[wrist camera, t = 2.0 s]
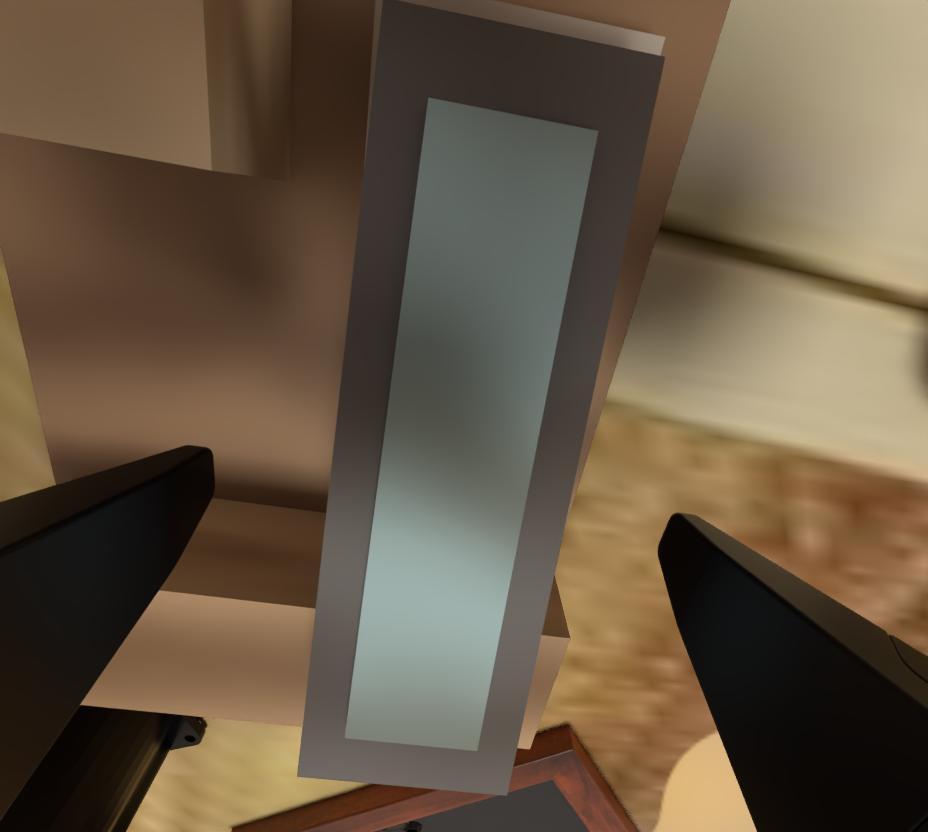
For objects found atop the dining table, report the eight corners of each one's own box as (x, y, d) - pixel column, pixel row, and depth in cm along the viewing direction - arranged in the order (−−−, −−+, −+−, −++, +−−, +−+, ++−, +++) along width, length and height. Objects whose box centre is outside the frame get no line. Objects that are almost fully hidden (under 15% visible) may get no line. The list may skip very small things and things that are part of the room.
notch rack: (522, 630, 20) (541, 760, 15) (101, 581, 18) (-17, 705, 14) (714, -1, 11) (892, -145, 6) (-52, -171, 10) (-499, -496, 5)
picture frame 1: (497, 725, 13) (508, 808, 11) (319, 707, 13) (293, 789, 11) (622, 107, 10) (673, 46, 8) (395, 62, 10) (381, -16, 8)
